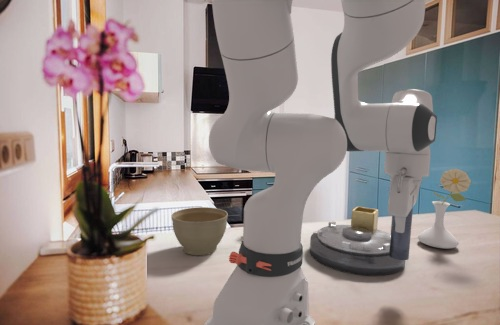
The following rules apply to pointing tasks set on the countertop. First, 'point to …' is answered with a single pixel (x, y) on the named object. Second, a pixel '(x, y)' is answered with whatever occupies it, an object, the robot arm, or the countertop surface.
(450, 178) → the flower in vase
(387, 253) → the grey round disc
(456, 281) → the countertop surface
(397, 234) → the pin
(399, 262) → the housing
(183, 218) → the planter bowl
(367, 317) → the countertop surface
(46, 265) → the countertop surface
